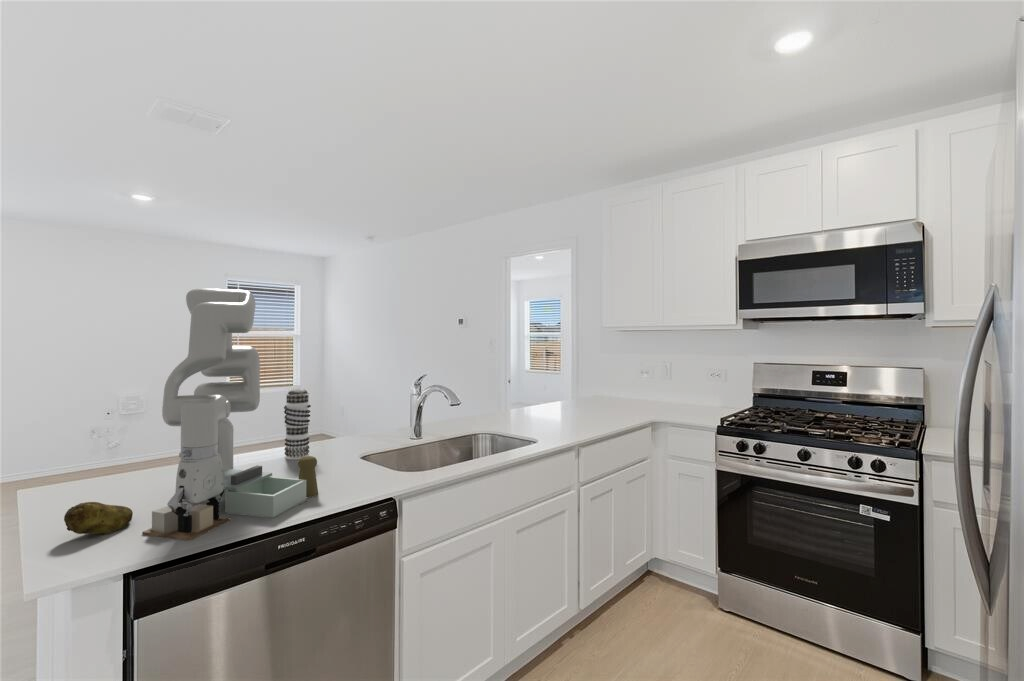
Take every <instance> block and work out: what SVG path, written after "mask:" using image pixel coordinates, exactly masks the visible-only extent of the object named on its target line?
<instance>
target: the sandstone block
mask: <svg viewBox="0 0 1024 681" xmlns="http://www.w3.org/2000/svg"><path fill="white" fill-rule="evenodd" d="M189 515H192V531H191V532H199V531H201V530H203V529H205V528H207V527H210V526H212V525H213V506H211V505H206V504H201V503H199V504H198V505H196V506H194V507H192V509H191V511H190V514H189Z"/></svg>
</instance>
